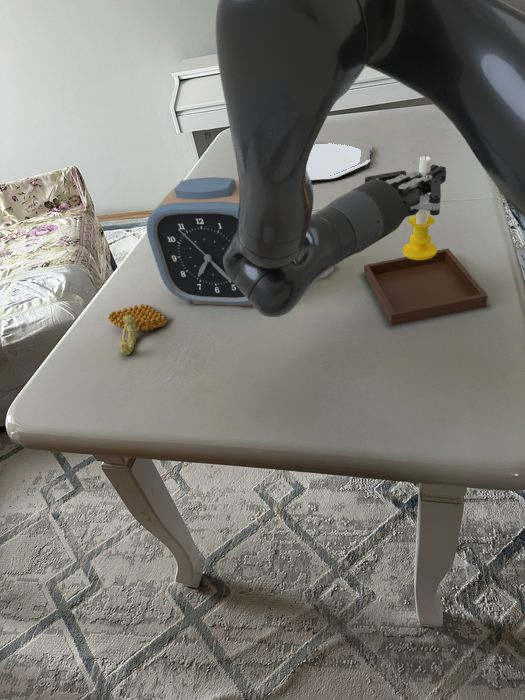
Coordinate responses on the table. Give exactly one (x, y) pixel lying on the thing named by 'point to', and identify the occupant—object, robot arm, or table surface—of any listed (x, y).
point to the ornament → (135, 323)
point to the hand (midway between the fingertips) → (439, 172)
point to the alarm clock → (197, 240)
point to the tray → (423, 287)
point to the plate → (332, 161)
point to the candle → (421, 226)
